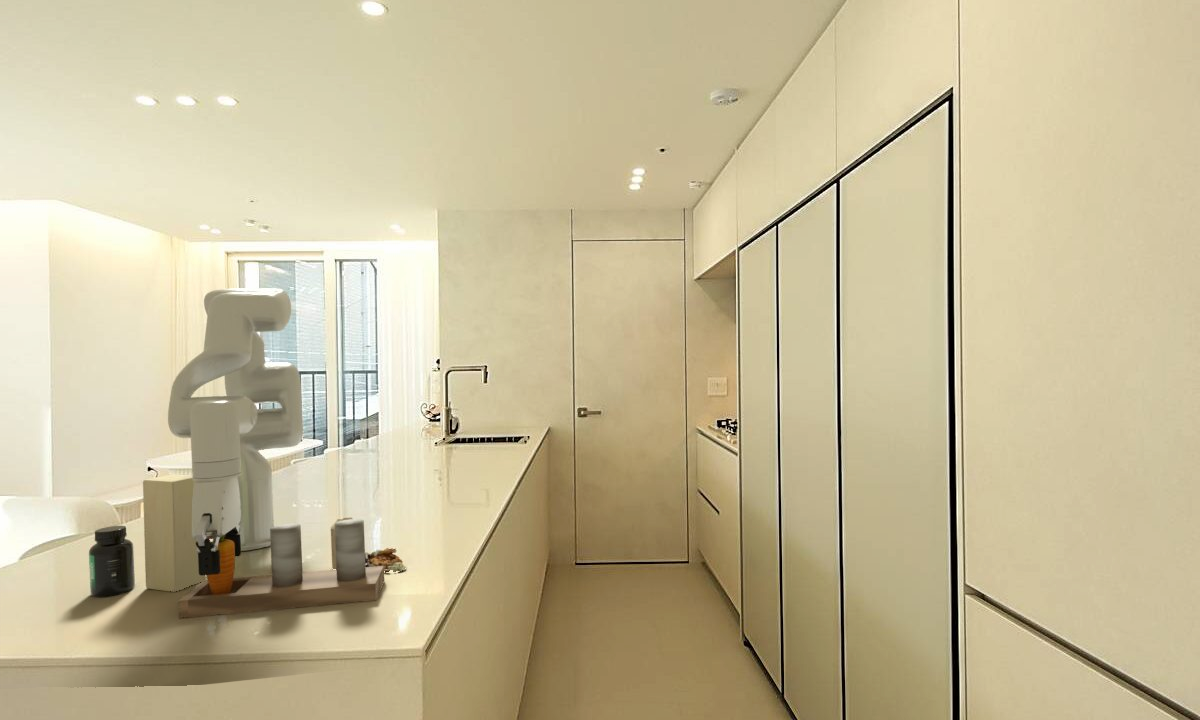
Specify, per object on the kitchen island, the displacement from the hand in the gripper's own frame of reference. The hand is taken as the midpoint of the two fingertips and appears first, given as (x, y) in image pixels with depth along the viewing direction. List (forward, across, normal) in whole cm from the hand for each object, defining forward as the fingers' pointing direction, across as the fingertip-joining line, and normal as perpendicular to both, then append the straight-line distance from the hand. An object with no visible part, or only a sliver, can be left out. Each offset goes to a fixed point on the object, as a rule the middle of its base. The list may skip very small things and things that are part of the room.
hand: (220, 565), depth 118 cm
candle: (+7, -16, +18) cm, 25 cm away
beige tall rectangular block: (+7, -14, -13) cm, 20 cm away
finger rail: (+7, 0, +11) cm, 13 cm away
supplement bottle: (+7, -13, -24) cm, 28 cm away
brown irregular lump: (+8, -14, +26) cm, 31 cm away
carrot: (+7, 0, 0) cm, 7 cm away
